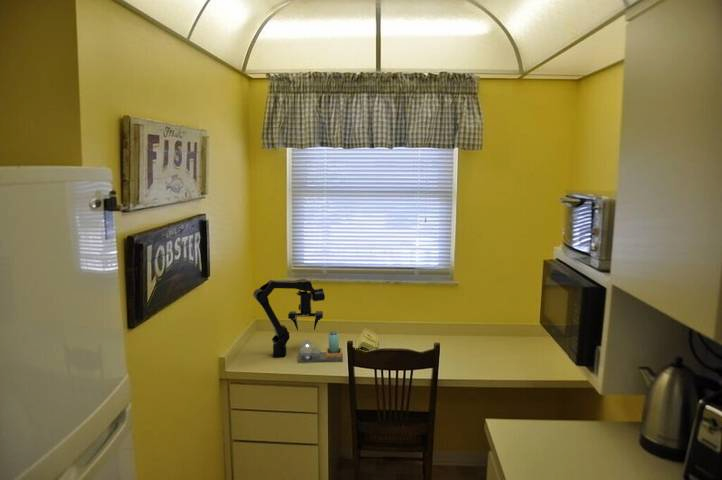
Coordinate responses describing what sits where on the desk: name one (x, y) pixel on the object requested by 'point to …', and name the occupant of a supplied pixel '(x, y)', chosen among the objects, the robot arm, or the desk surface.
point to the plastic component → (367, 340)
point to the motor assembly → (317, 354)
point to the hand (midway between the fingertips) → (306, 330)
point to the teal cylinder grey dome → (333, 342)
